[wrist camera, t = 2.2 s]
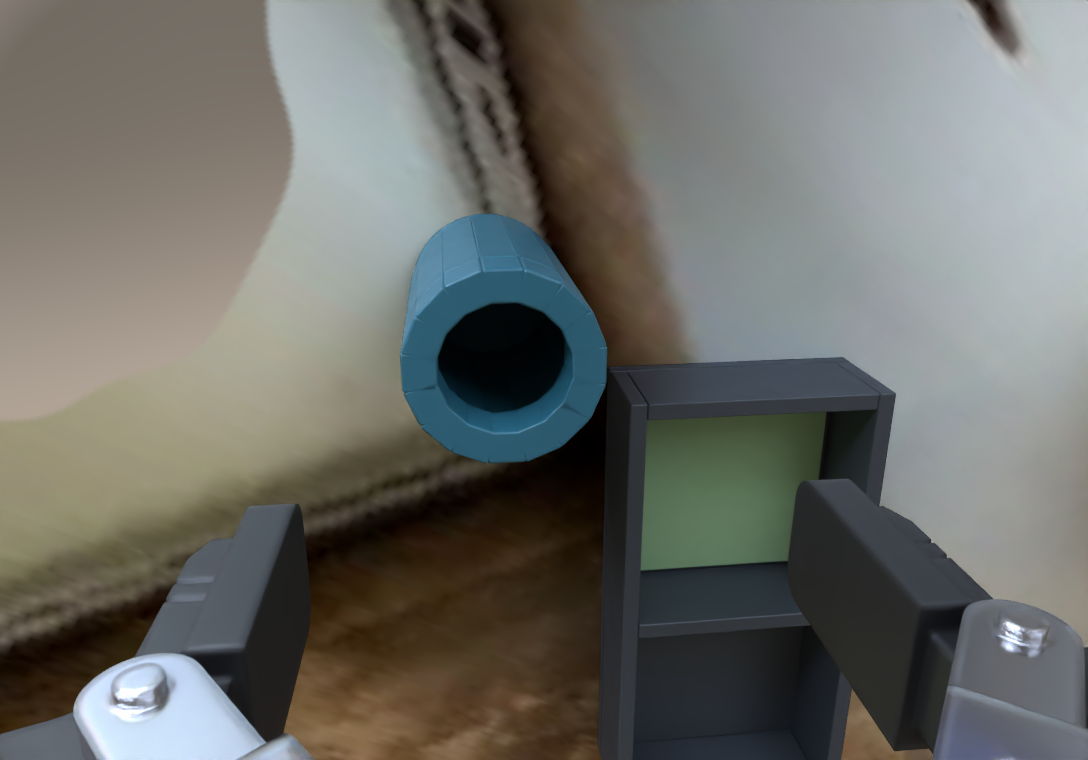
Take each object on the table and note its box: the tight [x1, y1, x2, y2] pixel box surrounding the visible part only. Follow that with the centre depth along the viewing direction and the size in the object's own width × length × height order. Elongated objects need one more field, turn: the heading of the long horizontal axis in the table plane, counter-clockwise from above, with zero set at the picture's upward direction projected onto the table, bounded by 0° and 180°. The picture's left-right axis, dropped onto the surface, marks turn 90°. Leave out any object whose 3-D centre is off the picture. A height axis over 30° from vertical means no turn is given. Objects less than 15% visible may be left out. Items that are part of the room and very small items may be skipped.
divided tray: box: [598, 357, 896, 760], centre depth 33 cm, size 9×18×4 cm, turn 0°
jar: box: [400, 214, 607, 463], centre depth 25 cm, size 5×5×9 cm
